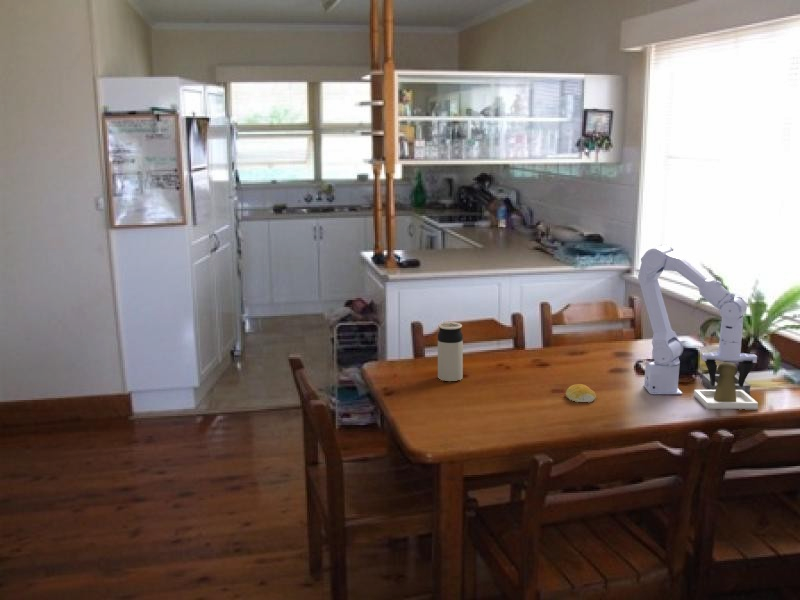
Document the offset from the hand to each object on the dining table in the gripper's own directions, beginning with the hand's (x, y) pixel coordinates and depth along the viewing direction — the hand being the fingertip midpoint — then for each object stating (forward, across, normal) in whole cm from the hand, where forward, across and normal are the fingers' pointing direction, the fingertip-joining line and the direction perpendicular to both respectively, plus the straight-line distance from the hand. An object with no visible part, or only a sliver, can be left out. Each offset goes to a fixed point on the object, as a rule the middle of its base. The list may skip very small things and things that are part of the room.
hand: (726, 385), depth 216 cm
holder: (+5, -3, -14) cm, 15 cm away
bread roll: (+6, +41, +1) cm, 41 cm away
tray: (+5, 0, 0) cm, 5 cm away
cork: (+5, 0, -1) cm, 5 cm away
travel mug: (+6, +81, -12) cm, 82 cm away
